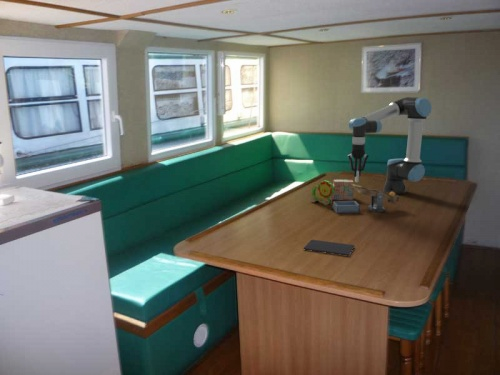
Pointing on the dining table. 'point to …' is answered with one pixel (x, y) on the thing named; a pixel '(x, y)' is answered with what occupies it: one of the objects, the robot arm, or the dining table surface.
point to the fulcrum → (377, 203)
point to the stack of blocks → (343, 190)
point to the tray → (346, 207)
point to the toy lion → (323, 192)
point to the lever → (374, 193)
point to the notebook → (329, 247)
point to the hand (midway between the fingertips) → (356, 181)
